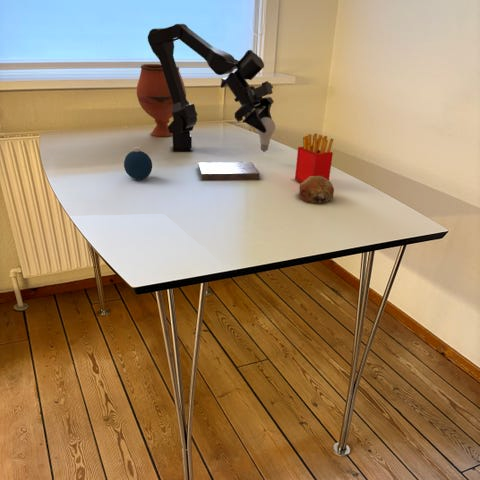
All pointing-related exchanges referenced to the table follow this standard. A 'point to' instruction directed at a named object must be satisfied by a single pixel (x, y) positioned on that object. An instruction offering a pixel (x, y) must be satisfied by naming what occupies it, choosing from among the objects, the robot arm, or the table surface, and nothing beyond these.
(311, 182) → the bread roll
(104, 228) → the table surface
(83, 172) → the table surface
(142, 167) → the christmas ornament
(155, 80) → the goblet
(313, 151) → the french fries container
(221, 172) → the walnut board
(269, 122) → the lightbulb
